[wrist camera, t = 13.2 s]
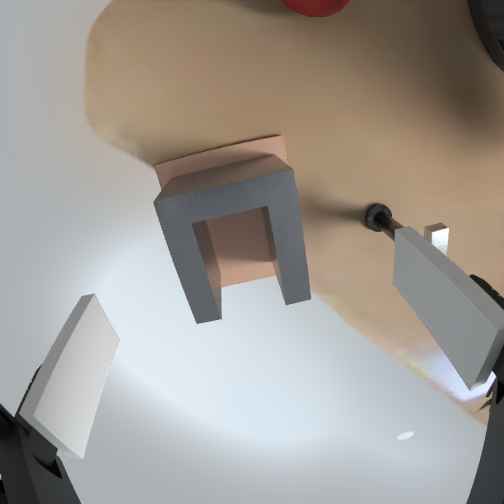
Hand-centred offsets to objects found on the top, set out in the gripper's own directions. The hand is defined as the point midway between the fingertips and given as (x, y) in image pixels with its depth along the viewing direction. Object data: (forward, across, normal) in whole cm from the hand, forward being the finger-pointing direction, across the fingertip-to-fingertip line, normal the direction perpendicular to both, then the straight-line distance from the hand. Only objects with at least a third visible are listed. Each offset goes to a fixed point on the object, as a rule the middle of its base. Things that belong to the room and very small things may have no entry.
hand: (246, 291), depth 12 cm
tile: (+16, -1, -3) cm, 16 cm away
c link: (+15, -1, -2) cm, 15 cm away
